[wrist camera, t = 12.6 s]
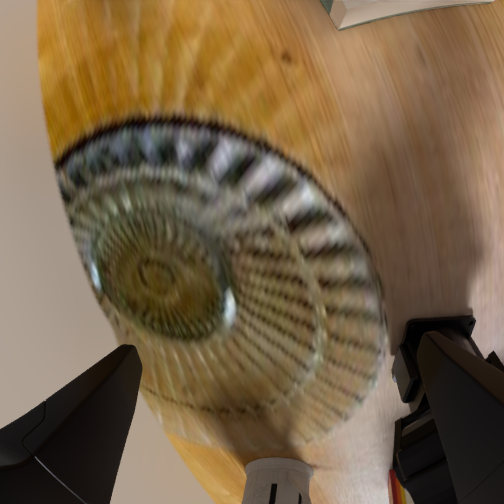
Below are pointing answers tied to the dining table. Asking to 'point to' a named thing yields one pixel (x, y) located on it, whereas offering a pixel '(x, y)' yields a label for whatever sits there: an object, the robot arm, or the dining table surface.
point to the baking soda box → (397, 491)
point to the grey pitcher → (277, 481)
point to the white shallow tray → (382, 9)
